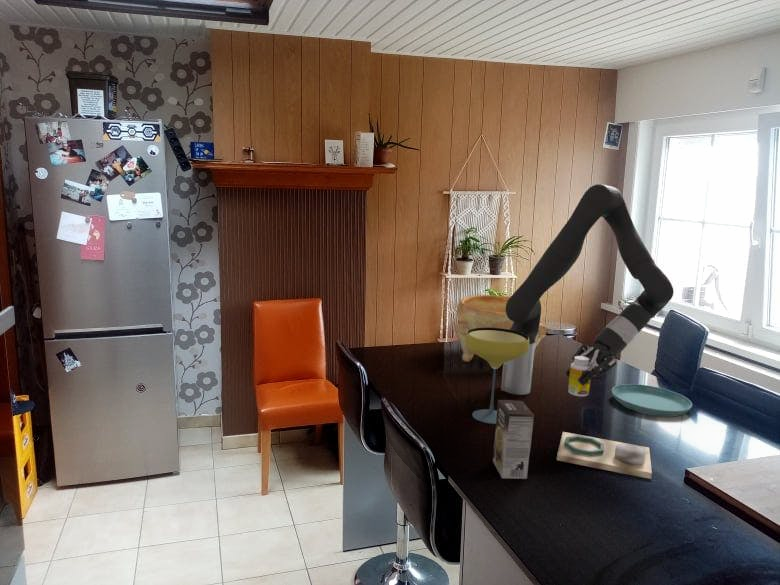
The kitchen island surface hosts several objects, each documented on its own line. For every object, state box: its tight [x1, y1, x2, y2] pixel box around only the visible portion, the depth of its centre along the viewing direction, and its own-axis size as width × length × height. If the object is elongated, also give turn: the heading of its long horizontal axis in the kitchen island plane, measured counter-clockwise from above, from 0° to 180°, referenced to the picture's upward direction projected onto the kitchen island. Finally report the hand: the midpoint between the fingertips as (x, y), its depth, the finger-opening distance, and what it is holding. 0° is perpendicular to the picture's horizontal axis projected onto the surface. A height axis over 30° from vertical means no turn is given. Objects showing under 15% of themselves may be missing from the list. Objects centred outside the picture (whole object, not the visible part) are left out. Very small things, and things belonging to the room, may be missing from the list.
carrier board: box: [556, 431, 653, 480], centre depth 157 cm, size 22×16×4 cm
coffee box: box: [492, 399, 535, 480], centre depth 145 cm, size 9×6×16 cm
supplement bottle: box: [567, 356, 591, 397], centre depth 167 cm, size 6×6×10 cm
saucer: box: [611, 383, 693, 418], centre depth 198 cm, size 24×24×3 cm
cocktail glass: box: [466, 328, 529, 425], centre depth 178 cm, size 18×18×25 cm
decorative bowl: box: [453, 294, 547, 363], centre depth 241 cm, size 34×35×23 cm
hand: (574, 379), depth 167 cm, fingers closed on supplement bottle, 5 cm apart
